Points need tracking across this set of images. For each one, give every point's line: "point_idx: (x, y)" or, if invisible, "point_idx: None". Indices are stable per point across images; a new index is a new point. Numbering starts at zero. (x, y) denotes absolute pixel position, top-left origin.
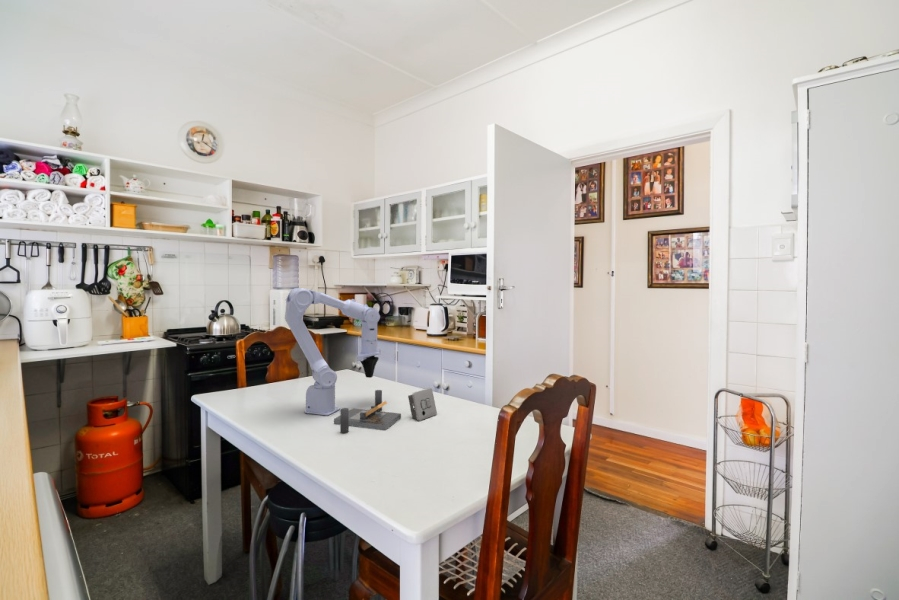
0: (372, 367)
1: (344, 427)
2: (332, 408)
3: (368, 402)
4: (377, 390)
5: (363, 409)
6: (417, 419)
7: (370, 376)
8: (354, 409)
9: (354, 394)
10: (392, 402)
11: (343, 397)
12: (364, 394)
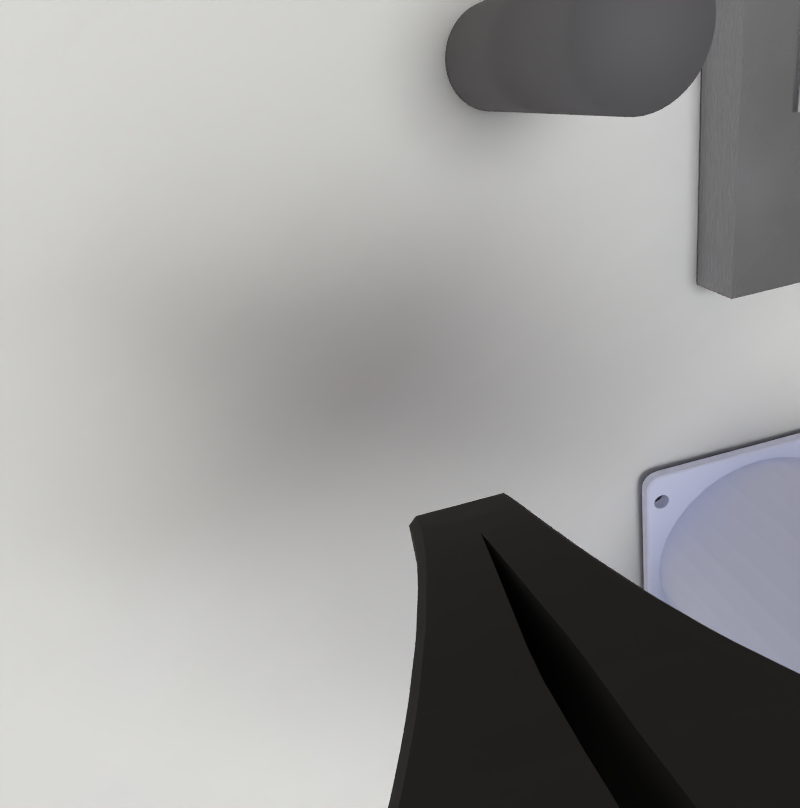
0: (691, 676)
1: None
2: (797, 471)
3: (267, 415)
4: (626, 71)
5: (740, 141)
6: None
7: (525, 516)
8: (772, 246)
9: (109, 743)
10: (35, 116)
11: (277, 734)
12: (23, 676)
